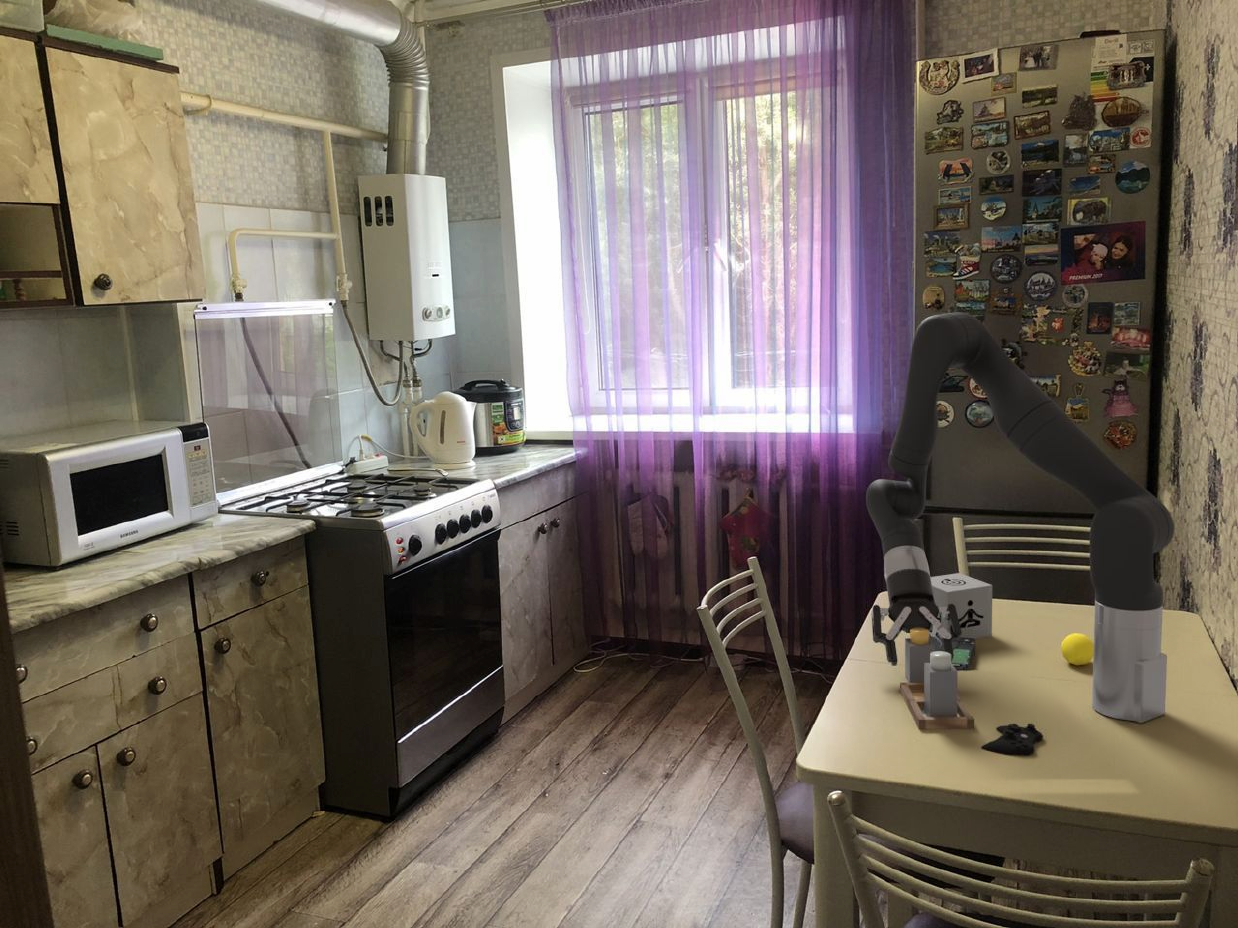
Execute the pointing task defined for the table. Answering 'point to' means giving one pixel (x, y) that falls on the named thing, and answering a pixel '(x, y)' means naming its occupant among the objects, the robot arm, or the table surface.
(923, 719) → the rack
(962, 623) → the icon cube
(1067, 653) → the lemon
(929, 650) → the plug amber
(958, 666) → the disk drive
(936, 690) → the plug grey
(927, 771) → the table surface
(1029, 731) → the game controller
